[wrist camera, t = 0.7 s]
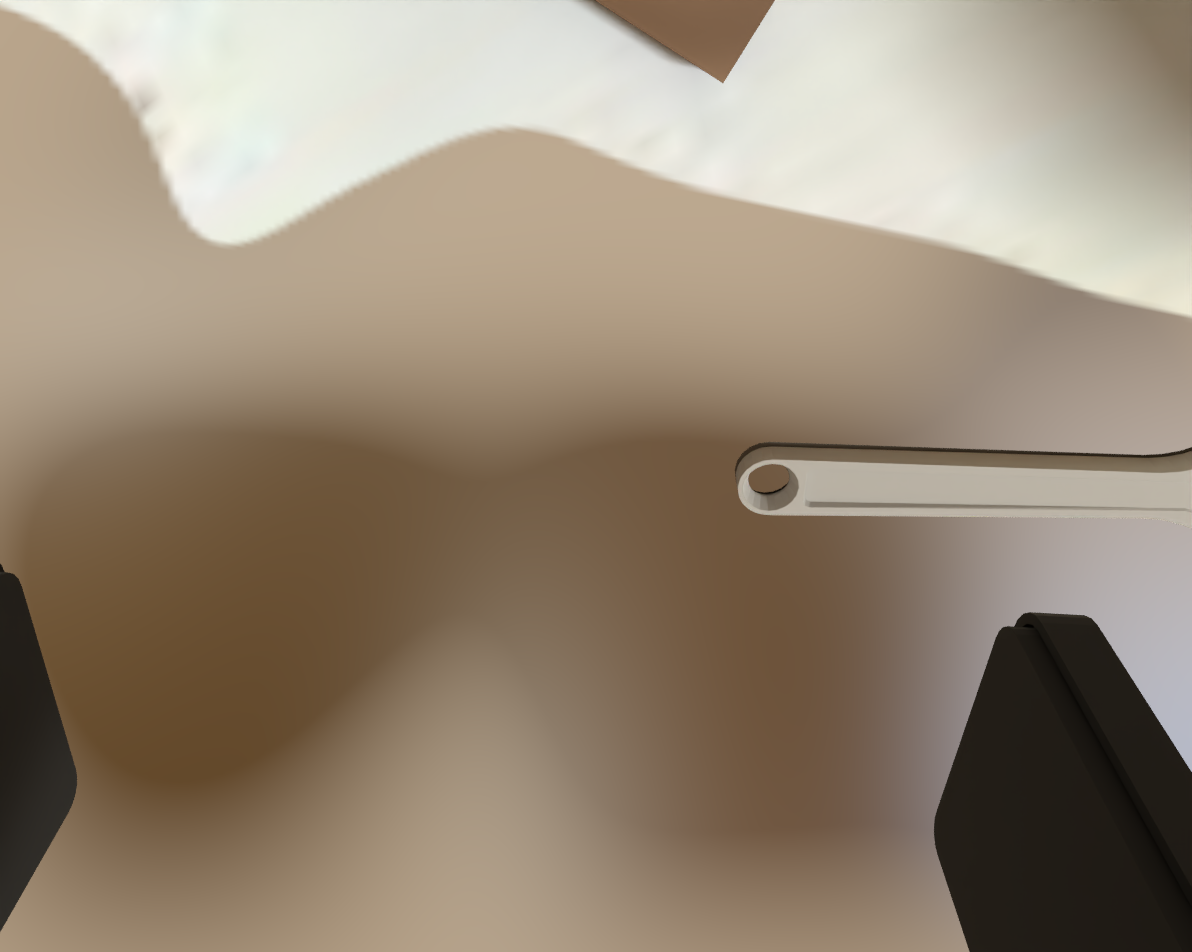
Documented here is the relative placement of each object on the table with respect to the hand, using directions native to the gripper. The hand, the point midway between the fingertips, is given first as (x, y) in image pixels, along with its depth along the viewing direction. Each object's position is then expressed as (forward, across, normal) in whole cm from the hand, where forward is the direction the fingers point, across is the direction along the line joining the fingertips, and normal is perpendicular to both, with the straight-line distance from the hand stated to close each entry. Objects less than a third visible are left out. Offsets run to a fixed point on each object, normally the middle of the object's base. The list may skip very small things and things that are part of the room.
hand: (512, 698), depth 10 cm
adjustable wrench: (+28, -20, +12) cm, 37 cm away
